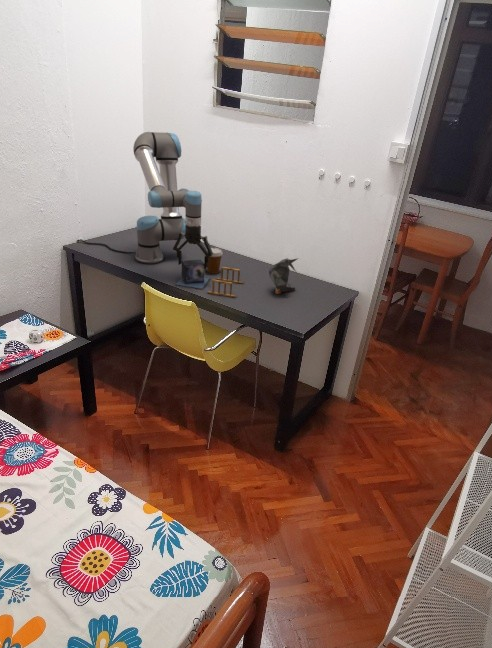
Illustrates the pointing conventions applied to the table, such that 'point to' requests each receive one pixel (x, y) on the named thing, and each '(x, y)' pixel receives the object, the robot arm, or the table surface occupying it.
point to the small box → (192, 271)
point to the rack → (225, 282)
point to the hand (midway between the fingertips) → (192, 266)
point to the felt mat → (193, 284)
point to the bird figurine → (281, 275)
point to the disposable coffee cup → (214, 261)
